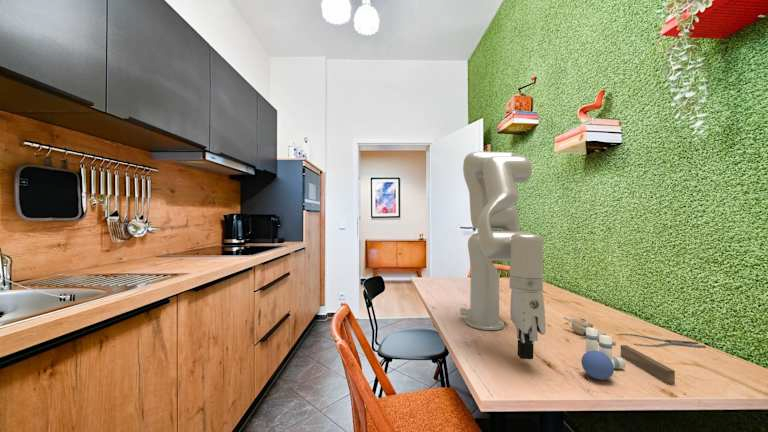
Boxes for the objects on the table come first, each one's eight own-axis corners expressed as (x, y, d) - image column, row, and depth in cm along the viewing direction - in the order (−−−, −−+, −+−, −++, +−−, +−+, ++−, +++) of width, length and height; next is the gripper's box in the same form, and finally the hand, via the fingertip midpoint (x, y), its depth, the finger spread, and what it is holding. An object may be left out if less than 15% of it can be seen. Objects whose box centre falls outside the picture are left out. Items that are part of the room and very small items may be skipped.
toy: (605, 333, 85) (560, 308, 99) (598, 350, 85) (554, 323, 99) (627, 338, 89) (580, 313, 103) (620, 354, 89) (574, 328, 103)
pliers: (612, 333, 97) (676, 334, 96) (612, 335, 97) (676, 336, 96) (637, 345, 87) (708, 346, 86) (637, 348, 87) (708, 349, 86)
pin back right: (598, 373, 71) (598, 336, 71) (599, 369, 73) (599, 333, 73) (612, 376, 69) (612, 339, 69) (612, 372, 71) (612, 336, 71)
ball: (587, 377, 71) (570, 358, 71) (605, 360, 71) (588, 340, 71) (606, 391, 65) (588, 370, 65) (626, 372, 65) (607, 351, 65)
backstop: (667, 384, 66) (667, 370, 66) (620, 356, 80) (620, 344, 80) (674, 384, 66) (674, 370, 66) (626, 356, 80) (626, 345, 80)
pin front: (586, 355, 73) (622, 356, 73) (581, 357, 75) (616, 358, 75) (590, 366, 72) (627, 367, 71) (585, 368, 74) (620, 369, 73)
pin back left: (585, 363, 76) (585, 329, 76) (586, 359, 78) (586, 326, 78) (597, 366, 74) (597, 331, 74) (598, 362, 76) (598, 328, 76)
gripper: (557, 290, 67) (556, 373, 67) (528, 277, 82) (527, 345, 82) (522, 289, 68) (522, 372, 67) (500, 277, 82) (499, 344, 82)
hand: (525, 357), depth 75 cm, fingers closed
